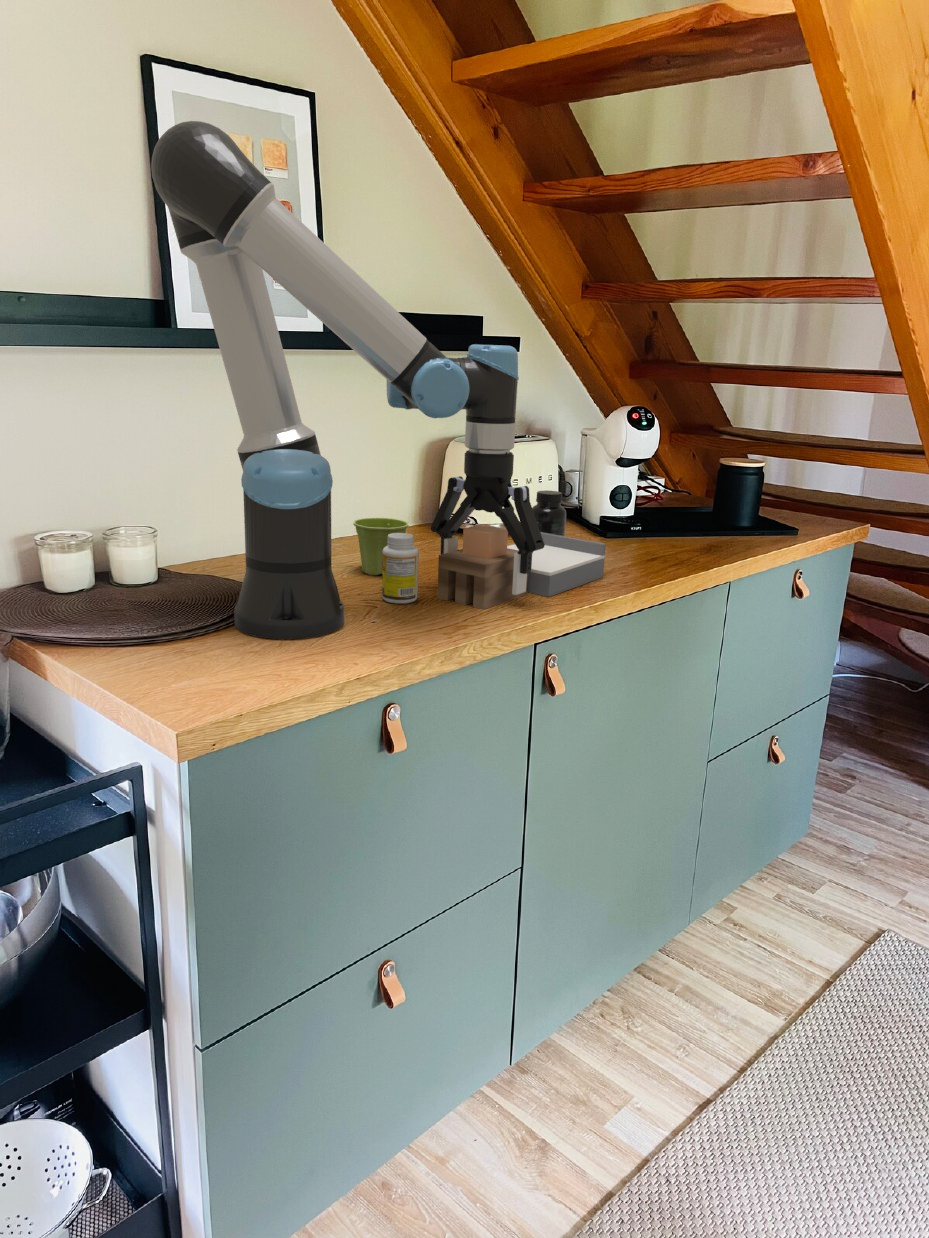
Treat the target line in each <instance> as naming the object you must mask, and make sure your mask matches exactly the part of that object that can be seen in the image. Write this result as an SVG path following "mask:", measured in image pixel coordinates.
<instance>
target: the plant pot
mask: <svg viewBox="0 0 929 1238" xmlns="http://www.w3.org/2000/svg"><path fill="white" fill-rule="evenodd" d="M352 523H353V526H355V532H356V534H357V537H358V544H359V545H358V546H359V553H360V560H361V569H362V571H363V573H365V574H367V575H372V576H379V575H382V551H383V548H384V547H386V546H388V543H387V541H388V535H389V534H392V533H406V532H407V528H408V527H409V524H410V523H409V522H408V521H406V520H402V519H398V518H388V517H367V518H363V517H362V518H357V519H355V520H354V521H353V522H352Z"/></svg>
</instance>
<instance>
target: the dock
mask: <svg viewBox="0 0 929 1238" xmlns="http://www.w3.org/2000/svg"><path fill="white" fill-rule="evenodd" d="M540 533H541V536H542V539H543V542H544V545H545V546H544V548H543V549H540V550H536V551H534V552H533V553H532V566H531V571H530V573H528V586H527V593H528V594H533V595H537V596H538V595H539V596H541V597H545V598H546V597H547V598H550V597H553V596H555V595H558V594H561V593H563V592H566V591H569V590H571V589H574V588H577V587H580V586H583V585H586V584H589V583H591V582H594V581H596V580H599V579H602V578H604V571H605V559H606V547H607V544H606V543H603V542H599V541H598V542H597V541H592V540H588V539H582V538H576V537H570V536H566V535H565V536H560V535H554V534H549V533H543V532H540ZM507 548H509V549H514V550H518V548H517V546H516V545H515V543H514V544H510V545H507Z"/></svg>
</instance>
